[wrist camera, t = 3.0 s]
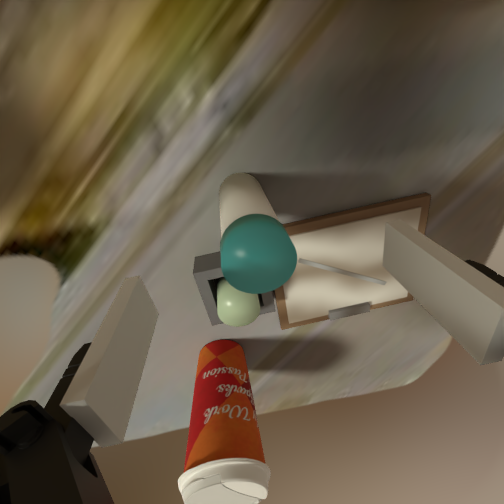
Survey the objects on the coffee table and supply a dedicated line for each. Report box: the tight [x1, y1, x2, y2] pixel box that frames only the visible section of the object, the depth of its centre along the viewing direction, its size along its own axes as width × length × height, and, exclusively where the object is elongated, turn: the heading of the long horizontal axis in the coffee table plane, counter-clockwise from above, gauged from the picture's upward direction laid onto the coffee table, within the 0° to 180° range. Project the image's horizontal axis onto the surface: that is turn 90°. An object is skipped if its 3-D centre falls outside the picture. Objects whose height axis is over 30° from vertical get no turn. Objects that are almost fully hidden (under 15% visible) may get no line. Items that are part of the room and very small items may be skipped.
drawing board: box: [274, 193, 431, 330], centre depth 30 cm, size 14×17×2 cm
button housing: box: [193, 252, 275, 325], centre depth 28 cm, size 7×7×3 cm
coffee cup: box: [178, 340, 271, 504], centre depth 29 cm, size 8×8×15 cm
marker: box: [219, 173, 297, 294], centre depth 20 cm, size 4×4×12 cm
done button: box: [217, 277, 260, 327], centre depth 26 cm, size 4×4×4 cm
